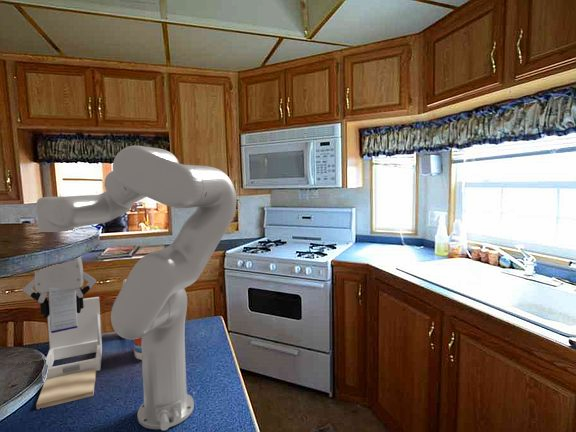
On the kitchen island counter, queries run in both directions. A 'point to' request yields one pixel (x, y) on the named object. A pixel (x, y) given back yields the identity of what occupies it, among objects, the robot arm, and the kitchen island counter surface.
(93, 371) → the pine board
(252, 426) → the kitchen island counter surface
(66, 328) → the supplement box
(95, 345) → the case
